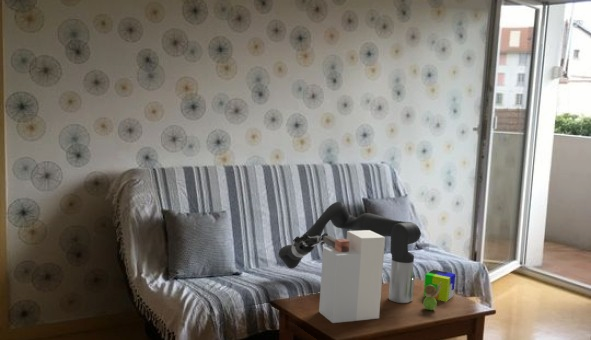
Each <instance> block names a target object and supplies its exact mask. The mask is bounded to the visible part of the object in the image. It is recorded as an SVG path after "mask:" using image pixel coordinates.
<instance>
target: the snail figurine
mask: <svg viewBox="0 0 591 340" xmlns="http://www.w3.org/2000/svg"><path fill="white" fill-rule="evenodd" d="M440 288H441V282H440V285H438V286H437V290H436V288H435V287H434V286H433V285H427V286H426V287H425V292H426V294H425V296H427V297H424V299H423V301H422V302H423V303H422V305H423V307H424V308H425V310H427V311H433V310H435V309H436V308H437V305H438V304H437V303H438V301H437V300H436V299H435V298H433V297H436V296H437V295H438V293H439V290H440Z"/></svg>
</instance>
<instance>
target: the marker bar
mask: <svg viewBox="0 0 591 340" xmlns="http://www.w3.org/2000/svg"><path fill="white" fill-rule="evenodd" d="M323 242H324V243H325V244H327V245H328V246H329V247H333V248H335V250H337V251H338V252H349V243H350V241H348V240H347V238H334V237H332V236H330V235H328V236H324V238H323Z"/></svg>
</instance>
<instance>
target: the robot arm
mask: <svg viewBox="0 0 591 340" xmlns="http://www.w3.org/2000/svg"><path fill="white" fill-rule="evenodd" d="M329 222H331V224H332V225H333V226H334V227H335V228H338V229H345V230H349V231H362V230H370V231H372V232H375V233H377V234H379V235H381V236H383V237H390V247H389V248H390V255H391V261H390V262H391V263H390V276H389V286H388V287H389V288H388V289H389V290H388V300H390V301H391V302H394V303H398V304H408V303H410V302H413V300H414V299H413V298H414V289H415V288H414V287H415V279H414V277H413V274H414V261H415V255H414V254H413V253H412V252H411V251H410V252H409V245H413V244H415V243H417V242H418V241H419V239H420V238H421V236H422V232H421V229H420V227H419V226H418V225H417V224H416V223H414V222H412V221H402V220H395V219H392V218H389V217H385V216H382V215H378V214H374V213H369V212H365V213H362V214H360V215H358V216H357V217H356V216H352V215H351V214H350V212H349V211H348V209H347V207H346V205H345V204H344V202H342V201H337V202H336V201H335V202H333V203H331V205H329V206H328V207H327V208H326V209H325V210H324V212H323V213H321V215H320V216H319V218H317V220H316V221H315V222H314V223H313V225H312V226H311V227H310V228H309V229H308V230H307V231H305V233H303V234H302V235H301V236H296V237H295V238H293V240H292V244H288V245H284V246H282V247H280V249H279V251H278V257H279V259H280V260H282V262H283V263H284V264H285V266H286V267H287V268H288V269H292V270H293V269H296V268H297V267H298V265H299V264H300V263H301V261H302V259H303V258H304V257H305V256H307V255H308V254H310V253H312V251H313V250H314V248H315V246H316V245H320V246H323V245H325V244H326V243H324V242H323V238H324V236H329V235H328V233H327V232H324V230H325V227H326V226H327V224H328V223H329ZM323 232H324V233H323Z"/></svg>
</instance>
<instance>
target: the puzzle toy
mask: <svg viewBox="0 0 591 340" xmlns="http://www.w3.org/2000/svg"><path fill="white" fill-rule="evenodd" d="M440 282H441V288H440V290H439V293H438V295H437V296H436V297H433V298H435V300H436V299H437V300H438V301H440V300H441V302H447V301H449V300H450V299H452V298H453V297H454V295H455V282H456V273H453V272H448V271H443V270H438V269H432V270H430V271H429V272H427V273H426V274H425V275H424V286H423V287H424V289H423V297H424V296H425V294H426V292H425V287H426V286H427V285H433V286H434V287H435V288H436V290H437V286H438V285H440ZM426 297H427V296H426ZM426 297H425V298H426ZM437 300H436V301H437Z"/></svg>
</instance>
